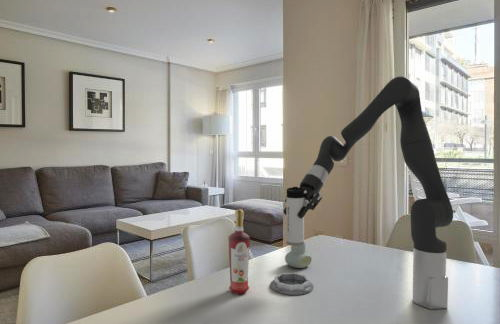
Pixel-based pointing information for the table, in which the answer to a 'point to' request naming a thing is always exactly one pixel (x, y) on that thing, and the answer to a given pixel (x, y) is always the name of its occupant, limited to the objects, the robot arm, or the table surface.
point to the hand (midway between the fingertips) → (292, 215)
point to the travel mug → (294, 216)
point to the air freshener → (298, 257)
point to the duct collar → (291, 284)
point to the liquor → (239, 256)
